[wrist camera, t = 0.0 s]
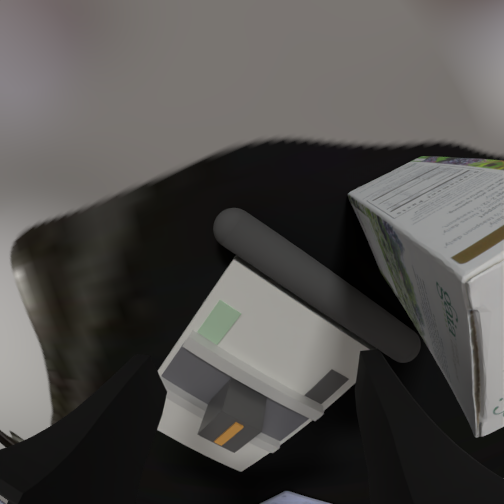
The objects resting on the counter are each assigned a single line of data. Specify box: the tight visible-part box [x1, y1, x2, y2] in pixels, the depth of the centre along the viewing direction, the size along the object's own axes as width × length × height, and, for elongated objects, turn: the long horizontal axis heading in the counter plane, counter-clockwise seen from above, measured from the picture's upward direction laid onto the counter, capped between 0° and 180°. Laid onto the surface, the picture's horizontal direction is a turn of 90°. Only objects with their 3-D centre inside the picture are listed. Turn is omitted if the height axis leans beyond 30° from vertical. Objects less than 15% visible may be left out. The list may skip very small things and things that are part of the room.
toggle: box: [197, 378, 267, 453], centre depth 20 cm, size 3×3×4 cm
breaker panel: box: [157, 255, 377, 472], centre depth 22 cm, size 18×12×2 cm, turn 146°
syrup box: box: [347, 156, 504, 438], centre depth 11 cm, size 6×6×14 cm
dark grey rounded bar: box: [213, 208, 421, 363], centre depth 19 cm, size 2×16×2 cm, turn 57°
